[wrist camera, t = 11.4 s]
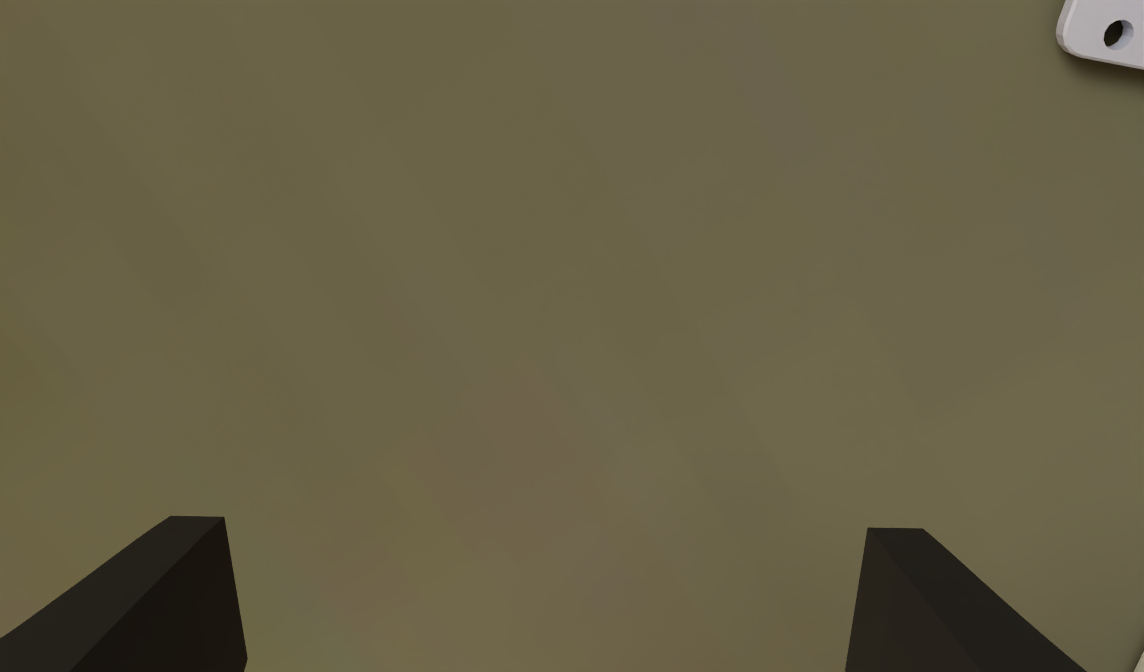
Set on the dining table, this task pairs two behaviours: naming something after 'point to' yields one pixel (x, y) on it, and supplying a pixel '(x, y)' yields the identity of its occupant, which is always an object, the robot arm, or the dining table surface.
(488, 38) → the dining table surface
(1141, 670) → the skincare box
